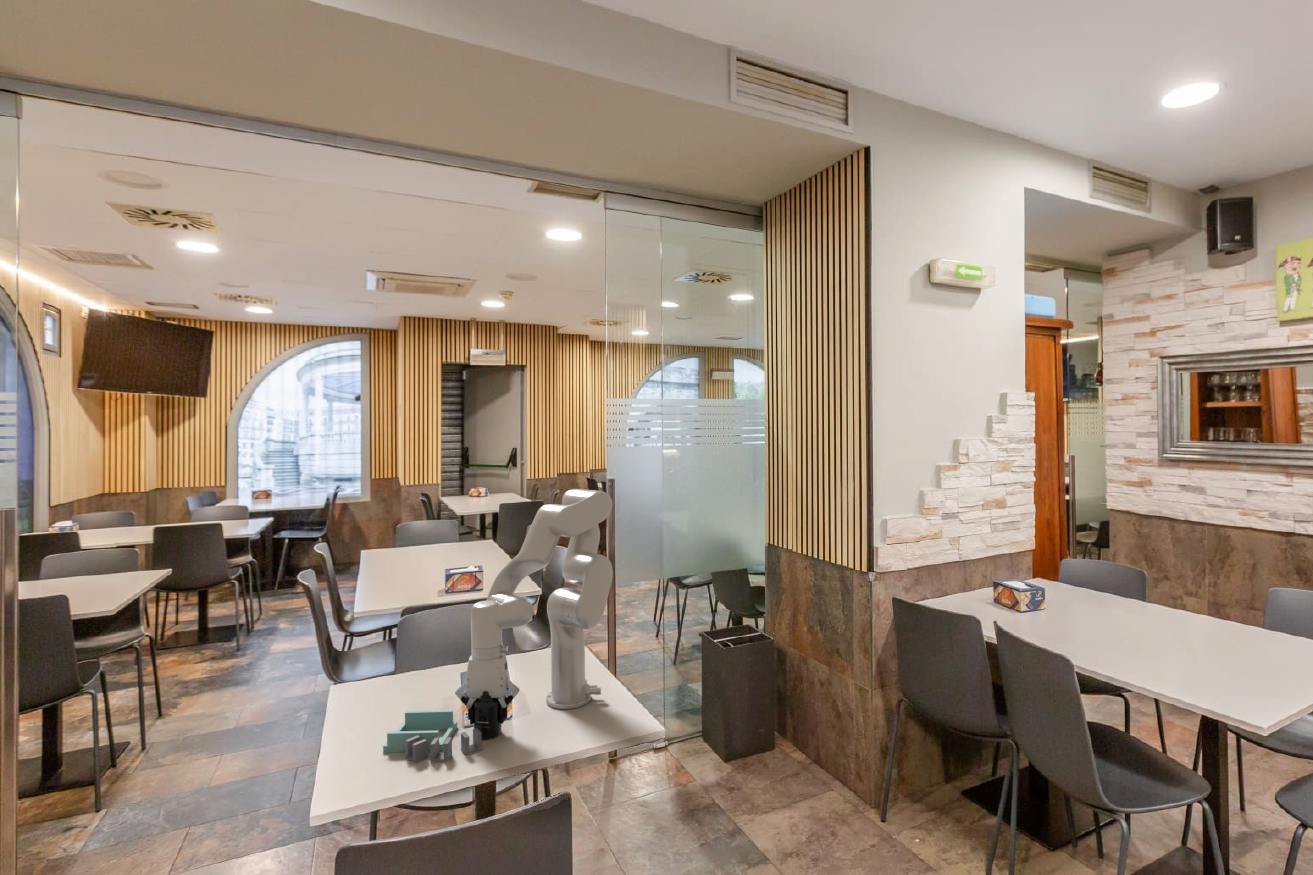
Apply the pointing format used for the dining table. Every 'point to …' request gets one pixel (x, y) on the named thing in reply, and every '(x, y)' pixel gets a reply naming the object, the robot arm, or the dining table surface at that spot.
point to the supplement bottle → (487, 716)
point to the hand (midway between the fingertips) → (487, 721)
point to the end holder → (421, 722)
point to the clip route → (418, 748)
